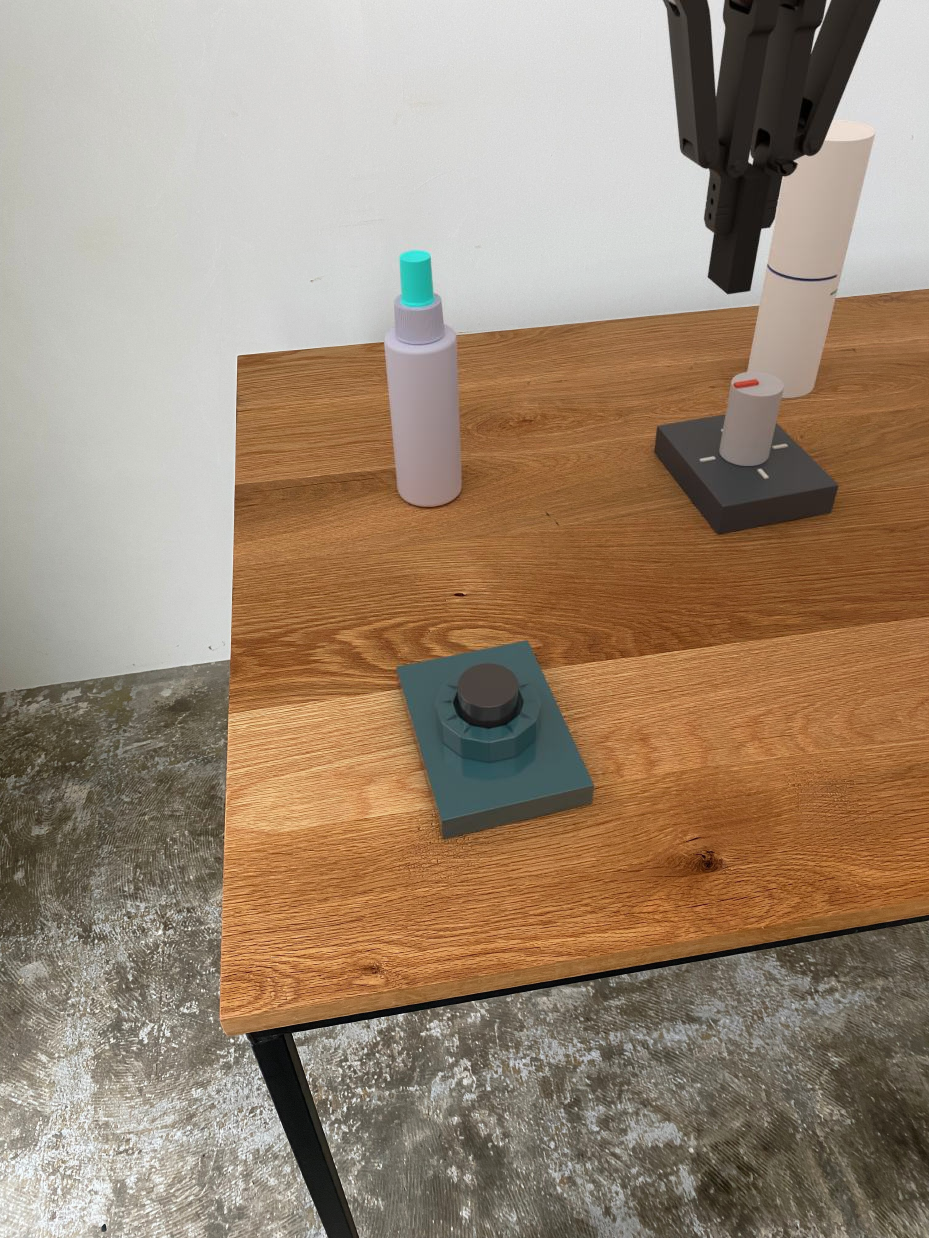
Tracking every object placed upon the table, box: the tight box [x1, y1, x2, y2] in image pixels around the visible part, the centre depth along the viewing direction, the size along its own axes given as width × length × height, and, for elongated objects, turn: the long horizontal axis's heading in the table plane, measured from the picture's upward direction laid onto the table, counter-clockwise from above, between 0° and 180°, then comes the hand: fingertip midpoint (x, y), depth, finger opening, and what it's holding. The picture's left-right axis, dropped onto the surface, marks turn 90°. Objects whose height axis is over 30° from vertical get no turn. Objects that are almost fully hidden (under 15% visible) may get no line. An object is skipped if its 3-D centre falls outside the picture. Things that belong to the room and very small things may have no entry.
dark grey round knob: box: [457, 663, 518, 728], centre depth 62 cm, size 4×4×2 cm
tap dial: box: [719, 371, 784, 466], centre depth 83 cm, size 4×4×7 cm
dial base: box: [653, 413, 840, 535], centre depth 86 cm, size 14×11×3 cm
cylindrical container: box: [746, 118, 876, 399], centre depth 93 cm, size 7×7×25 cm
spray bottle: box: [383, 249, 463, 508], centre depth 80 cm, size 6×6×22 cm
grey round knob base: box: [395, 639, 595, 840], centre depth 63 cm, size 14×10×4 cm
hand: (728, 283), depth 57 cm, fingers closed
